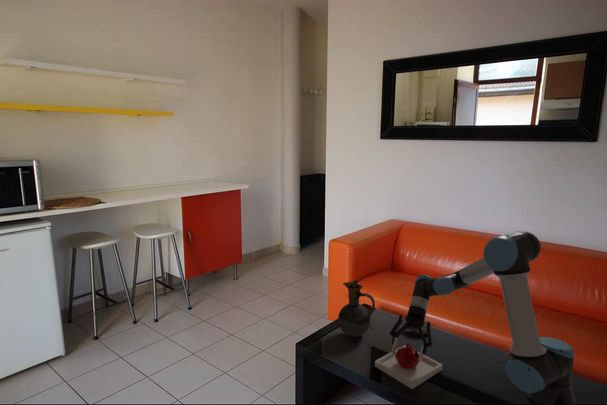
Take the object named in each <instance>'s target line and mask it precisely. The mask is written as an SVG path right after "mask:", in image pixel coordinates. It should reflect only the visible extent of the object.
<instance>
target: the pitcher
mask: <svg viewBox="0 0 607 405" xmlns="http://www.w3.org/2000/svg"><path fill="white" fill-rule="evenodd" d="M359 282H360V280H359V279H355V280H352V281H350V282H349V281H348V282H343V283H342V285H344V286H345V287H346V288H347V290H348V296H347V297H348V304H345V305H344V306H342V308H341V309H340V310H339V313H338V316H337V317H338V318H337V322H338V325H339V326H338V327H340V329H341V331H342V332H343V333H344V334H346V338H347V339H348V340H352V341H360V340H362V339H363V335H365V333H366V332H367V331H368V330H369V328H370V329H371V330H372V331H374V328H373V326H372V325H371V316H372V314H373V312H374V309H375V307H376V301H375V298H374V296H372V295H371V294H369V293H367V292H363V293H362V292H361V289H363V287H364V285H362V284H359ZM361 297H366V298H368V299H370V301H371V306H372V307H371V311H370V313H369V310H368V309H367V308H366V307H365V306H364V305H362V304H360V298H361Z"/></svg>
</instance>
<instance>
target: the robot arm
mask: <svg viewBox="0 0 607 405" xmlns="http://www.w3.org/2000/svg"><path fill="white" fill-rule="evenodd" d="M541 251H542V244H541V242H540V240H539V238H538V237H537V236H536V235H535V234H533V233H531V232H529V231H526V230H525V231H524V230H523V231H522V230H519V231H515V232H511V233H510V232H509V233H506V234H501V235H497V236H496V237H493V238H491V239H489V240H488V241H487V243H486V244H485V245H484V248H483V257H481V258H479V259H477V260H475V261H474V262H471V263H470V264H468V265H466V266H464V267H462V268H460V269H458V270H456V271H455V272H452V273H450V274H449V273H448V274H445V275H441V276H438V277H431V276H430V275H427V274H419V275H417V277H416V280H415V282H414V287H413V292H412V295H411V298H410V303H409V307H408V311H407V313H406V314H407V315H406V316H402V315H400V314H399V317H398V320H397V321H396V322H395V323H394V325H393V327H392V328H391V330H390V331H389V335H390V336H391V337H392V340H391V346H392V349H391V351H390V353H391V352H392V354H395V351H396V349H397V346H398V341H399V339H398V338H399V337H400V336H401V335H402V334H403V333H404V332H406V331H407V330H409V329H408V328H411V329H415V330H419V332H420V334H419V335H420V337H421V340H422V342H423V344H421V347H420V350H419V353H420V355H419V359H418V360H419V362H422V358H423V355H426V354H427V350H428V348H429V347H430V348H431V347H433V345H434V344H433V339H432V338H433V337H432V332H431V331H432V330H431V328H432V323H431V321H425V319H426V315H427V310H428V306H429V302H430V299H431V297H436V296H446V295H450V294H452V293H453V292H455V291H458V290H461V289H465V288H468V287H470V286H471V285H472V284H474V283H476V282H478V281H480V280H483V279H485V278H487V277H489V276H491V275H494V276H496V277H497V278H498V279H499V281H500V286H501V292H502V297H503V300H504V301H503V303H504V306H505V313H506V317H507V322H508V326H509V332H510V337H511V342H512V345H511V346H510V347H509V349H508V350H509V356H510V359H509V360H508V361H507V363H506V365H505V372H506V375H507V377H508V379H509V381H511V383H512V384H514V385H515V387H516V388H518V389H519V390H520V391H523V392H525V393H527V396H528V398H529V400H531V402H533V404H535V405H576V402H577V401H576V397H575V394H574V391H573V387H572V380H573V370H574V362H575V350H574V348H573V347H572V345H570V344H568V343H567V342H565V341H563V340H560V339H556V338H555V337H549V336H548V337H547V336H546V337H545V336H541V337H540V335H539V332H538V326H537V321H536V315H535V311H534V306H533V302H532V301H533V300H532V296H531V291H530V287H529V286H530V285H529V282H528V275H529V274H530V273H531V267H530V262H531V263H532V262H533V261H534V260H536V259H537V258H538V257H539V256H540V254H541ZM405 321H406V322H405ZM403 322H405V323H404V324H403V325H402V323H403ZM401 325H402V326H401ZM423 325H425V326H426V327H427V334H426V335H427V339H426V337H425V334H423V331H422V329H421V327H422V326H423ZM427 340H428V341H427Z"/></svg>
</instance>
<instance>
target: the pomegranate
mask: <svg viewBox="0 0 607 405" xmlns="http://www.w3.org/2000/svg"><path fill="white" fill-rule="evenodd" d="M404 345H405V346H406V347H405V348H404V347H403V346H404ZM404 345H401V346H400V347H402V348H400V347H398V348H399V349H398V348H397V349H398V350H397V353H396V356H395V357H396V360H397V362H398V363H399V365H401V366H402V367H404V368H408V369H410V368H414V367H416V366H417V365H418V363H419V360H418V359H419V354H418V352H419V351H418V350H417V349H416V348H414V345H410V343H405V344H404Z"/></svg>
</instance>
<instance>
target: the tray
mask: <svg viewBox="0 0 607 405" xmlns="http://www.w3.org/2000/svg"><path fill="white" fill-rule="evenodd" d="M405 345H406V344H404V345H402V346H403V347H404V348H405V347H406V346H407V345H406V346H405ZM399 348H402V347H401V346H399V347H398V348H396V351H395V354H392V352H391V351H390V352H389V353H387V354H385V355H383V356H381V357H379V358H377V359H375V361H374V367H375V368H377V369H378V370H380V371H382V372H384V373H385V374H387V375H388V376H389V377H391V378H394V379H395V380H396V381H398V382H400V383H401V384H403V385H405V386H406V387H408V388H409V389H411V390H413V389H415V388H417V387H418V386H420V385H421V384H423V383H424V382H426V381H427V380H429V379H431V378H432V377H434V376H435V375H436V374H438V373H440V372H442V371H443V364H442V363H440V362H438V361H436V360H435V359H432V358H431V357H429V356H427V355H426V354H423V358H422V362H419V363H418V365H417V366H416V367H414V368H410V369H408V368H404V367H402V366H401V365H399V363H398V362H397V360H396V357H395V356H396V353H397V350H398V349H399ZM417 352H418V354H419V355H420V351H417Z"/></svg>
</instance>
